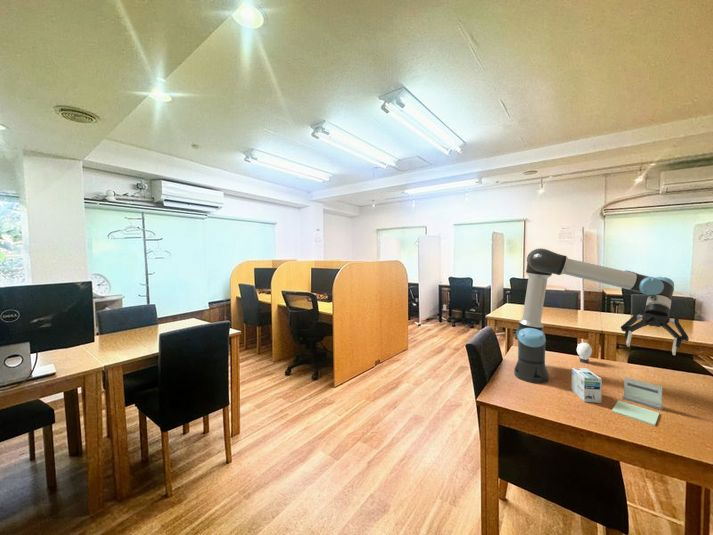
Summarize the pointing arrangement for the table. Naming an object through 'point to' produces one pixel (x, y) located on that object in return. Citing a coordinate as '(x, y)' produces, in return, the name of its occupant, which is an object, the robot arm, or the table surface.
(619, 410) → the pad
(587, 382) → the light bulb box
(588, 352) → the light bulb
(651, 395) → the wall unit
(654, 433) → the table surface
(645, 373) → the table surface
